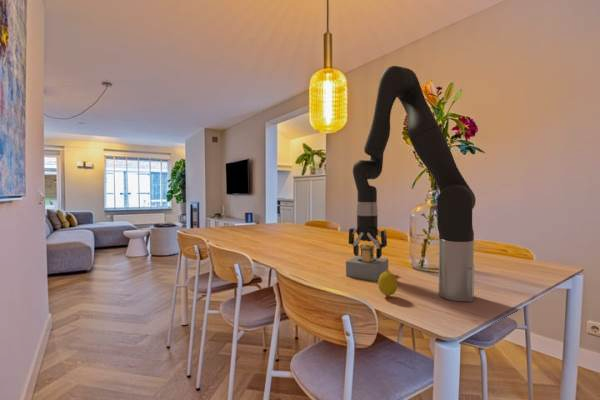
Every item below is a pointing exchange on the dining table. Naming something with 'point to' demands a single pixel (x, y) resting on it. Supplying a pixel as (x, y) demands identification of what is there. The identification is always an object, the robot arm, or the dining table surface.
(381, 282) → the lemon
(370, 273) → the block
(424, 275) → the dining table surface
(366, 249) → the glass jar
